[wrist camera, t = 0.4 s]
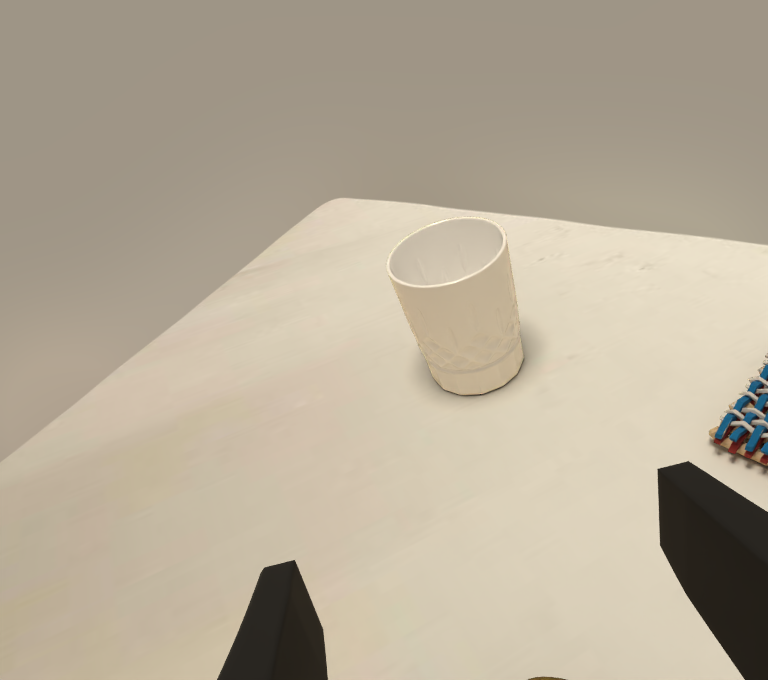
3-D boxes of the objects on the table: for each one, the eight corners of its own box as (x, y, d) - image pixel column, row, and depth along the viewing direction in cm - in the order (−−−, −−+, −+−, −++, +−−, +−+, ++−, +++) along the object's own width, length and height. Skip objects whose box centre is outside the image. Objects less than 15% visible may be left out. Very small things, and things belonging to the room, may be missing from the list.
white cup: (423, 341, 51) (386, 234, 45) (522, 318, 50) (497, 204, 44) (427, 412, 45) (385, 299, 39) (541, 388, 43) (515, 267, 38)
